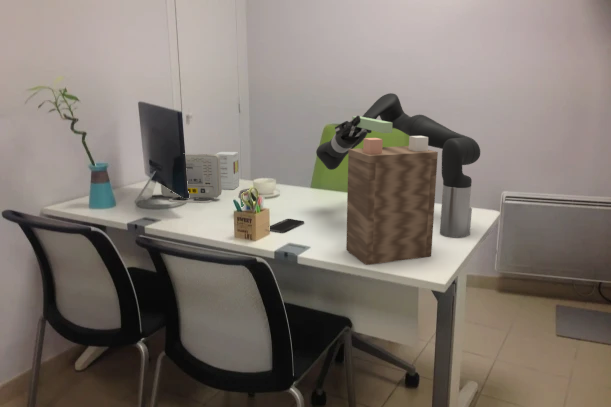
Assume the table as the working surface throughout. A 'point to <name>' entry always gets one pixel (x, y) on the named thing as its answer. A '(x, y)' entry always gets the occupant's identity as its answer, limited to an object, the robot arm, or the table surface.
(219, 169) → the network device
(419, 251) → the walnut stand
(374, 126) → the sage green bar
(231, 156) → the supplement box
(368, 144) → the terracotta block
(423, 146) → the grey block
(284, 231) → the phone
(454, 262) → the table surface
